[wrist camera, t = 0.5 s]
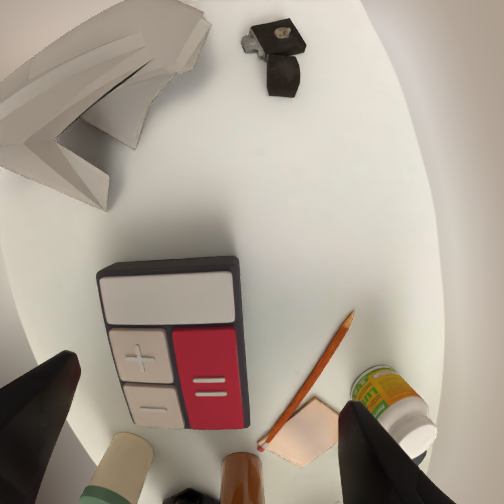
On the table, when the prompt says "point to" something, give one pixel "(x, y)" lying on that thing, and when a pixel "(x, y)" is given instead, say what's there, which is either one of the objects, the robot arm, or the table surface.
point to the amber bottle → (242, 480)
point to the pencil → (309, 382)
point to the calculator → (178, 341)
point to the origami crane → (94, 89)
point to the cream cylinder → (120, 472)
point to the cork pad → (306, 434)
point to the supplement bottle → (396, 408)
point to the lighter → (277, 54)
